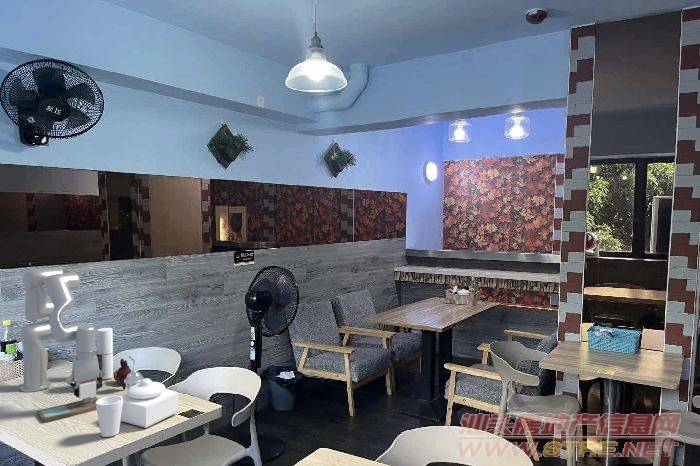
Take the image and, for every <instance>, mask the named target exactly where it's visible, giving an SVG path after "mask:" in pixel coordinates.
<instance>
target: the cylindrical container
mask: <svg viewBox="0 0 700 466" xmlns="http://www.w3.org/2000/svg"><path fill="white" fill-rule="evenodd" d="M96 331H97V332H96V333H97V334H96V335H97V337H96V339H97V340H96V341H97V342H96V343H97V345H96V346H97V347H96V348H97V349H96V350H99V352H98V353H97V354H100V355H102V365H103V366H102V371H103V372H104V373H105V375H104V376H103V377H102V378H103V380H109V379H111V378H114V376H113V373H114V344H113V343H114V340H113V339H114V336H113V331H114V329H113V328H112V327H101V328H98V329H97V330H96Z"/></svg>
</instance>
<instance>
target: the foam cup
mask: <svg viewBox="0 0 700 466" xmlns="http://www.w3.org/2000/svg"><path fill="white" fill-rule="evenodd" d="M121 396H122V395H108V396H104V397H101V398H97V399H98V400H97V401H96V410H95V411H96V413H97V418H98V423H99V430H100V436H101V437H103V438H107V437H113V436H116V435H118V433H120V427H121V426H120V425H121V421H120V420H121V412H122V405H123V397H121Z"/></svg>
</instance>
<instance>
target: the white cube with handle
mask: <svg viewBox="0 0 700 466" xmlns="http://www.w3.org/2000/svg"><path fill="white" fill-rule="evenodd" d="M78 388H79V397H78V400H82V399H84V398H88V397H91V398H93V397H96V396H97V393H96V382H95V381H94V380H93V379H91V380H87V381H82V382H80V383H79V386H78Z"/></svg>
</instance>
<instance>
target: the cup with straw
mask: <svg viewBox="0 0 700 466" xmlns="http://www.w3.org/2000/svg"><path fill="white" fill-rule="evenodd" d="M127 357H128V358H129V359H130V360H131V361H132V362H133V363H132V365H133V367H132V368H133V369H132V370H133V371H131V372H130V373H129V374H128V375H127V377H126V379H124V383H126V391H128V389H129V388H131V387H132V386H134V385H136V384H139V383H140V382H141V381H142V380H143V379H145V377H144V376H143V375H142V373H141V372H139V371H136V360H135V359H134V358H133V357H132V356H131V355H128V356H127Z"/></svg>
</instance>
